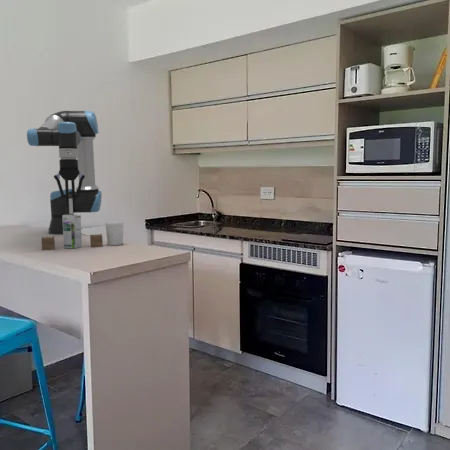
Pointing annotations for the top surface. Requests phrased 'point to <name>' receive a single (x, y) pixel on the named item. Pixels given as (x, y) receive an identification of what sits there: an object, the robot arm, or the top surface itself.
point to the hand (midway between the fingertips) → (71, 213)
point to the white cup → (114, 233)
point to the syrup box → (72, 231)
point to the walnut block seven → (48, 243)
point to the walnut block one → (96, 240)
